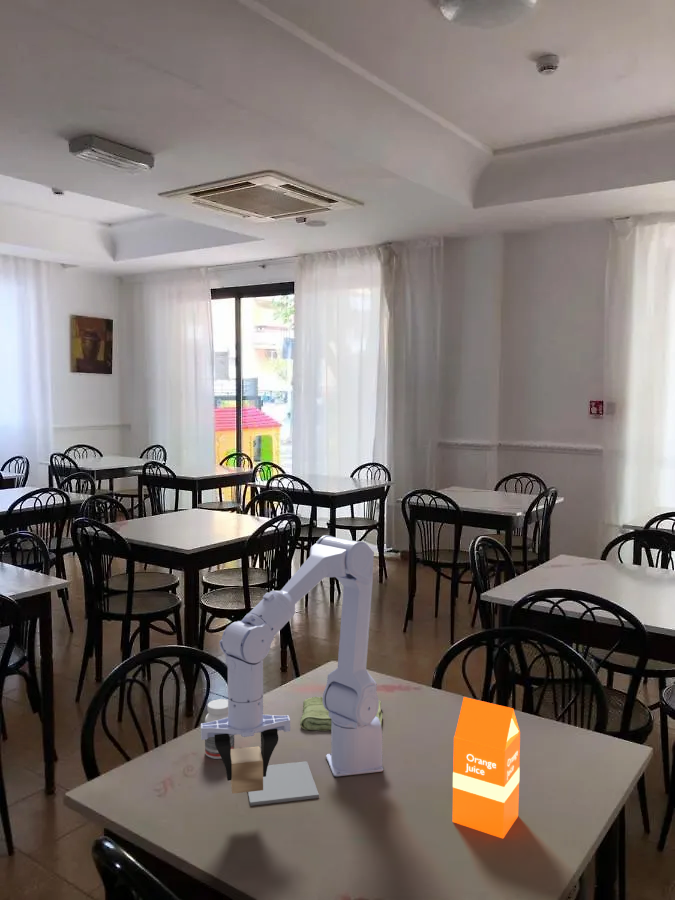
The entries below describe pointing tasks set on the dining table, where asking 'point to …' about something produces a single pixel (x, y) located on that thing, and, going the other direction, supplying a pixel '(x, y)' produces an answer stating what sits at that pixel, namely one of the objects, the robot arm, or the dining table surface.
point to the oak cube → (246, 770)
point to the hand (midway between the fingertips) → (246, 775)
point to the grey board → (285, 784)
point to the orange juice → (486, 767)
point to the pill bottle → (216, 712)
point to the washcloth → (320, 715)
